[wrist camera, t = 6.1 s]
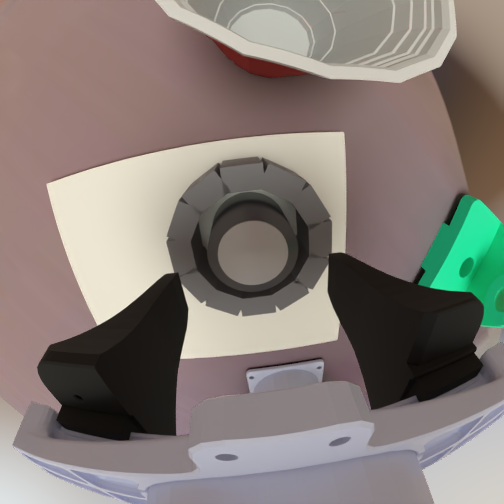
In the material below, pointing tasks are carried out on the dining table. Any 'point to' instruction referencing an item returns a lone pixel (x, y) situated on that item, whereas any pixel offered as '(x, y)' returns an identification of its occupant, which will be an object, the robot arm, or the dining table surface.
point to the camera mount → (470, 258)
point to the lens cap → (251, 243)
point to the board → (198, 232)
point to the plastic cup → (325, 35)
